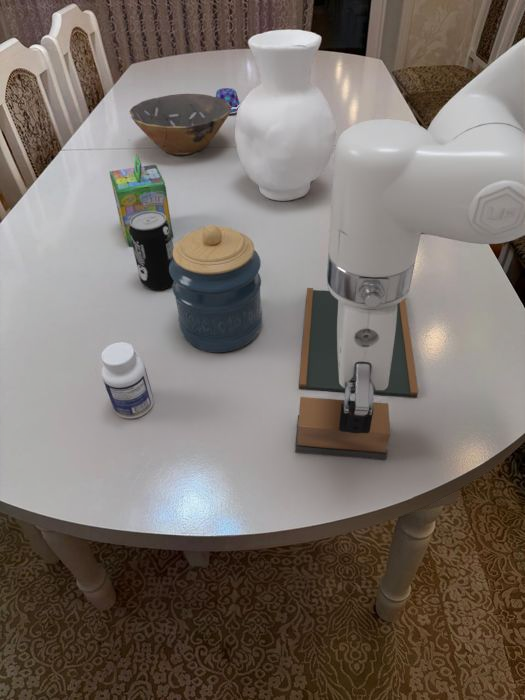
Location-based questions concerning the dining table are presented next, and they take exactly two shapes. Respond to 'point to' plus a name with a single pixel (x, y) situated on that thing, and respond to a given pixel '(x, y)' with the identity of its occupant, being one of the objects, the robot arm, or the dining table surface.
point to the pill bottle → (126, 380)
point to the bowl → (181, 121)
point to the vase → (284, 117)
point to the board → (323, 356)
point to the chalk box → (139, 193)
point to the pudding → (229, 97)
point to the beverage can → (152, 248)
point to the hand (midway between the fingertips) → (353, 395)
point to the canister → (217, 288)
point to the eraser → (326, 439)
